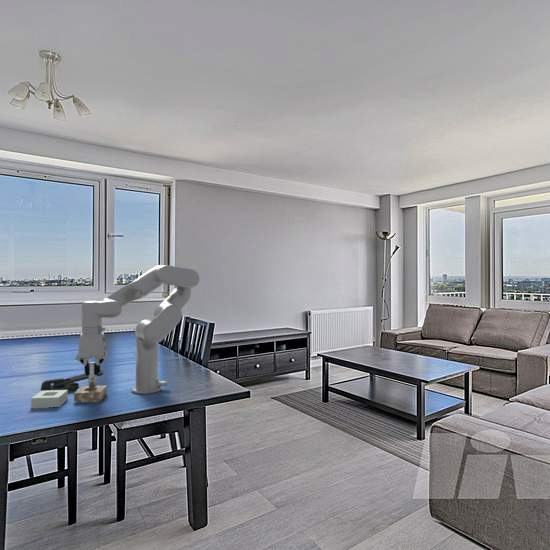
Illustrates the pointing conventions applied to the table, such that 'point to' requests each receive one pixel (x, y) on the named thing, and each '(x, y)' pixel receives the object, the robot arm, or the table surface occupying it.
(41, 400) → the sage socket block
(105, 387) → the birch mount block
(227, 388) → the table surface
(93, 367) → the metal pin
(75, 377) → the zipper pull
